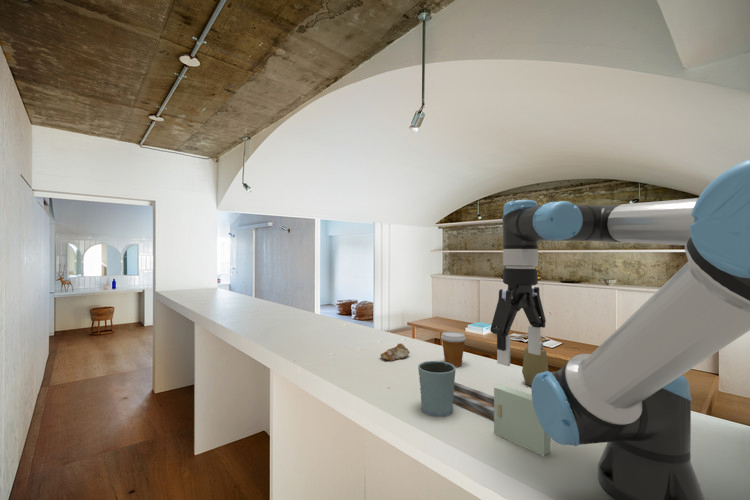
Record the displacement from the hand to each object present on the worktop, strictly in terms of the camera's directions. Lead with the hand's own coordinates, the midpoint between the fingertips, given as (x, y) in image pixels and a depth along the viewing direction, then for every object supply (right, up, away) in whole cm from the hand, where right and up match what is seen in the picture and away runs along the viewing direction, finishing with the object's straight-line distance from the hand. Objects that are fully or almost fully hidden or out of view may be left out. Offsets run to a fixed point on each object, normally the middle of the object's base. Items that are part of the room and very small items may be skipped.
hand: (519, 359), depth 80 cm
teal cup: (-17, -19, +15) cm, 30 cm away
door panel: (0, -19, -1) cm, 19 cm away
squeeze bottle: (+20, -20, +34) cm, 44 cm away
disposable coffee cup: (-3, -20, +54) cm, 58 cm away
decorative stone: (-25, -20, +63) cm, 71 cm away
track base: (-6, -19, +19) cm, 28 cm away
